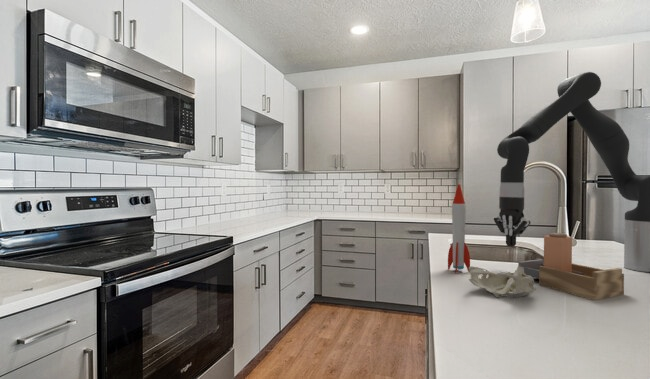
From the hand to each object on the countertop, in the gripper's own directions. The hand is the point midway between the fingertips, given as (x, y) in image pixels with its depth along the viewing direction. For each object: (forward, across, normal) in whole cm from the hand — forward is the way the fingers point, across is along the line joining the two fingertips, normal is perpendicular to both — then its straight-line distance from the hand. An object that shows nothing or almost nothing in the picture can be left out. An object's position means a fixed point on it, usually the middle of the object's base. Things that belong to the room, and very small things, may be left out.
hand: (510, 246), depth 115 cm
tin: (+6, -16, 0) cm, 17 cm away
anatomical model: (+9, -16, +22) cm, 29 cm away
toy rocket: (+9, +6, +17) cm, 20 cm away
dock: (+8, -22, 0) cm, 23 cm away
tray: (+7, -13, 0) cm, 15 cm away
